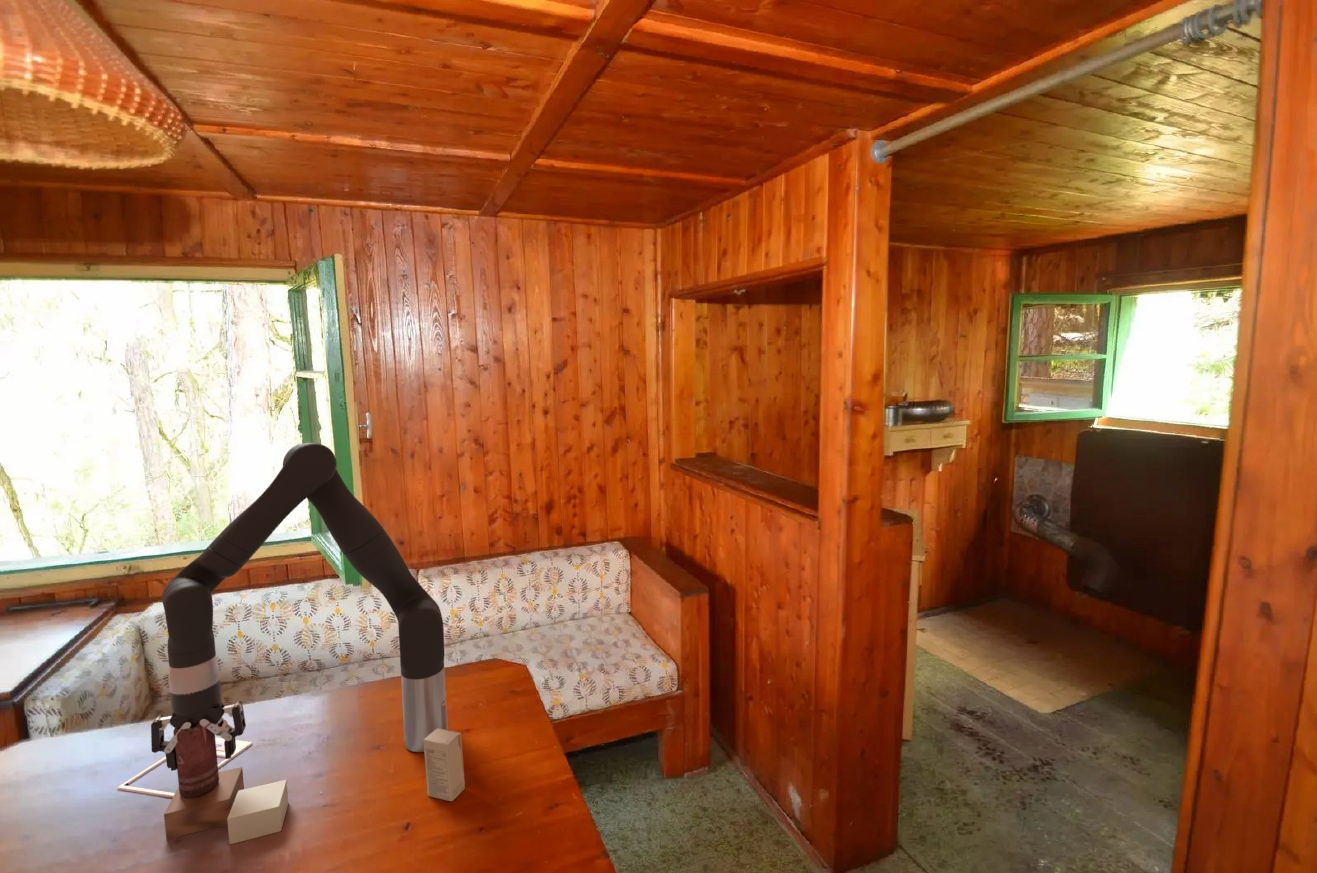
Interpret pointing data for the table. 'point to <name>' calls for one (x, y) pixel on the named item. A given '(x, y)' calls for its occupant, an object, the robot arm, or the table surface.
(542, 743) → the table surface
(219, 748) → the photo frame
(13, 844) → the table surface
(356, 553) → the robot arm
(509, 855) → the table surface
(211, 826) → the walnut block
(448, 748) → the skincare box
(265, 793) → the cream block
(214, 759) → the can
